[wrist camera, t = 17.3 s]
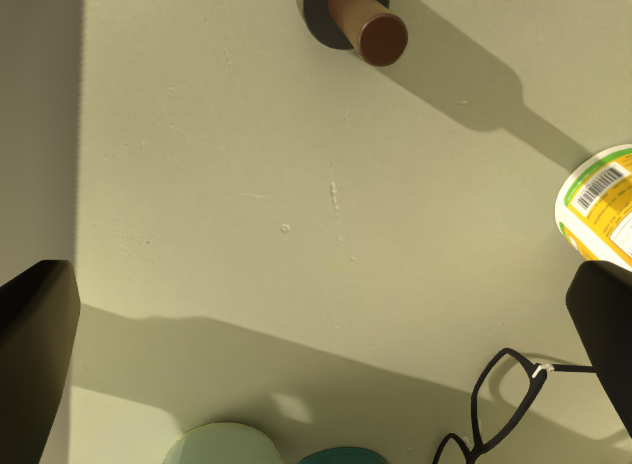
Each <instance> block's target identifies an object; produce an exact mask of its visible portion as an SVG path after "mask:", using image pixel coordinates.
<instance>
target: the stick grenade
mask: <svg viewBox="0 0 632 464" xmlns="http://www.w3.org/2000/svg"><path fill="white" fill-rule="evenodd" d="M389 2H390V0H297V4H298V8H299V11H300V14H301V16H302V18H303V20H304V22H305V24H306V26H307V28H308V29H309V31H310V32H311V34H312V35H313V36H314V37H315V38H316V39H317V40H318V41H319V42H321V43H322V44H324V45H325V46H328V47H330V48H333V49H339V50H348V49H353V48H355V49H356V50H357V52H358V53H359V54H360V56H361V57H362V58H363V60H364V61H366V62H367V63H368V64H370V65H372V66H376V67H385V66H388V65H391V64H393V63H394V62H396V61H397V60H398V59H399V58H400V57H401V56H402V55H403V53H404V51H405V49H406V47H407V43H408V31H407V28H406V25H405V24H404V22H403V21H402V20H401V19H400V18H399V17H398V16H396V15H395V14H394V13H392V12H391V11H390V10H389Z"/></svg>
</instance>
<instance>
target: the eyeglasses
mask: <svg viewBox="0 0 632 464" xmlns="http://www.w3.org/2000/svg"><path fill="white" fill-rule="evenodd" d="M507 353H508V354H509V355H511V356H513V357H514V358H515V359H516V360H517V361H519V362H520V364H521V365H522V366H523V367H524V369H525V371H526V373H527V375H528V377H529V379H530V387H529V390H528V392H527V394H526V396H525V398H524V399H523V401H522V402H521V404H520V406H519V407H518V409H517V410H516V412H515V413H514V415H513V416H512V418H511V419H510V420H509V422H508V423H507V424H506V425H505V426H504V428H503V429H502V430H501V431H500V432H499V433H498V434H497V435H496V436H494V437H493V438H492V439H491V440H490V441H488V442H487V443H485V444H483V442H482V439H481V435H482V434H483V432H482V429H481V427H480V426H481V425H482V424H481V421H480V419H478V418H477V394H478V391H479V389H480V386H481V385H482V383H483V381H484V379H485V378H486V376H487V375H488V373H489V372H490V370H491V369H492V367H493V366H494V365H495V364H496V363H497V362H498V360H499V359H500V358H501V357H503V356H504V355H505V354H507ZM546 369H548V370H550V372H552V371H564V372H588V373H596V372H595V370H594V368H593V367H591V366H576V365H562V364H550V363H549V364H547V365H542V364H539V363H536V364H535V365H534V364H533V363H531V362H530V361H529V360H528V359H526V358H525V357H524V356H522V355H521V354H519V353H518V352H516V351H515V350H513V349H511V348H504V349H502V350H501V351H499V352H498V353H497V354H496V355H495V356H494V358H493V359H492V360H491V361H490V362H489V364H488V365H487V366H486V368H485V369H484V371H483V372H482V374H481V375H480V377H479V379H478V381H477V383H476V385H475V387H474V390H473V392H472V396H471V421H472V431H473V439H474V444H475V445H474V447H473V446H472V445H471V444H470V443H469V442H470V440H469V439H468V438H467V437H466V436H464V437H463V438H462V439H461V438H460V437H459V436H458V435H456V434H455V433H449V434H447V435H446V436H445V438H444V439H443V440H442V442H441V444H440V446H439V448H438V450H437V452H436V454H435V457H434V460H433V463H432V464H437V463H438V461H439V458H440V455H441V453H442V451H443V449H444V447H445V445H446V443H447V442H448V440H449V439H450V438H453V439H454V440H455V441H456V442H457V444H458V445H459V447H460V448H461V450H462V452H463V454H464V457H465V459H466V464H474V463H475V461H476V459H477V458H478V457H479V456H480V455H482V454H483V453H484V454H485V453H487V452H488V451H490V450H491V449H492V448H494V447H495V446H496V445H497V444H499V443H500V442H501V441H502V440H503V439H504V438H505V437H506V436H507V435H508V434H509V433H510V432H511V431H512V430H513V428H514V427H515V426H516V425H517V424H518V422H519V421H520V420H521V418H522V417H523V416H524V414H525V413H526V411H527V410H528V409H529V407H530V406H531V404H532V403H533V401H534V399H535V398H536V396H537V395H538V393H539V391H540V390H541V388H542V386H543V384H544V382H545V380H546V379H547V371H546ZM480 431H481V432H480ZM480 434H481V435H480ZM462 440H463V441H462ZM464 442H465V443H466V444H469V445H470V446H471V447H470V448H469V449H468V447H467V446H466V444H465V443H464ZM472 448H473V449H472ZM471 449H472V450H471ZM470 450H471V452H470Z"/></svg>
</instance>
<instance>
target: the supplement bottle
mask: <svg viewBox="0 0 632 464" xmlns="http://www.w3.org/2000/svg"><path fill="white" fill-rule="evenodd" d="M555 218H556V223H557V226H558V228H559V230H560V231H561V233H562V234H563V235H564V236H565V238H566V239H567V240H568V241H569V242H570V243H571V244H572V245H573V246H574V247H575V248H576V249H577V250H578V251H579V252H580V253H581V254H582V255H583V256H584V258H585V259H586V260H606V261H610V262H612V263H614V264H616V265H618V266H621V267H623V268H625V269H627V270H629V271H631V272H632V144H626V145H619V146H615V147H612V148H609V149H606V150H604V151H602V152H600V153H598V154H596V155H594V156H593V157H591V158H590V159H588V160H587V161H585V162H584V163H583V164H581V165H580V166H579V167H578V168H577V169H576V170H575V171H574V172H573V173H572V174H571V175H570V176H569V178H568V179H567V180H566V182H565V183H564V185H563V186H562V188H561V190H560V192H559V194H558V197H557V201H556V205H555Z"/></svg>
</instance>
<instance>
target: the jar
mask: <svg viewBox="0 0 632 464" xmlns="http://www.w3.org/2000/svg"><path fill="white" fill-rule="evenodd" d="M298 464H388V463H387V462H386V460H385V459H384V458H383V457H382V456H380V455H379V454H377V453H375V452H373V451H370V450H367V449H362V448H354V447H344V448H335V449H329V450H325V451H322V452H319V453H316V454H314V455H311V456H309V457H307V458H305V459H304V460H302V461H301V462H299V463H298Z"/></svg>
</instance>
